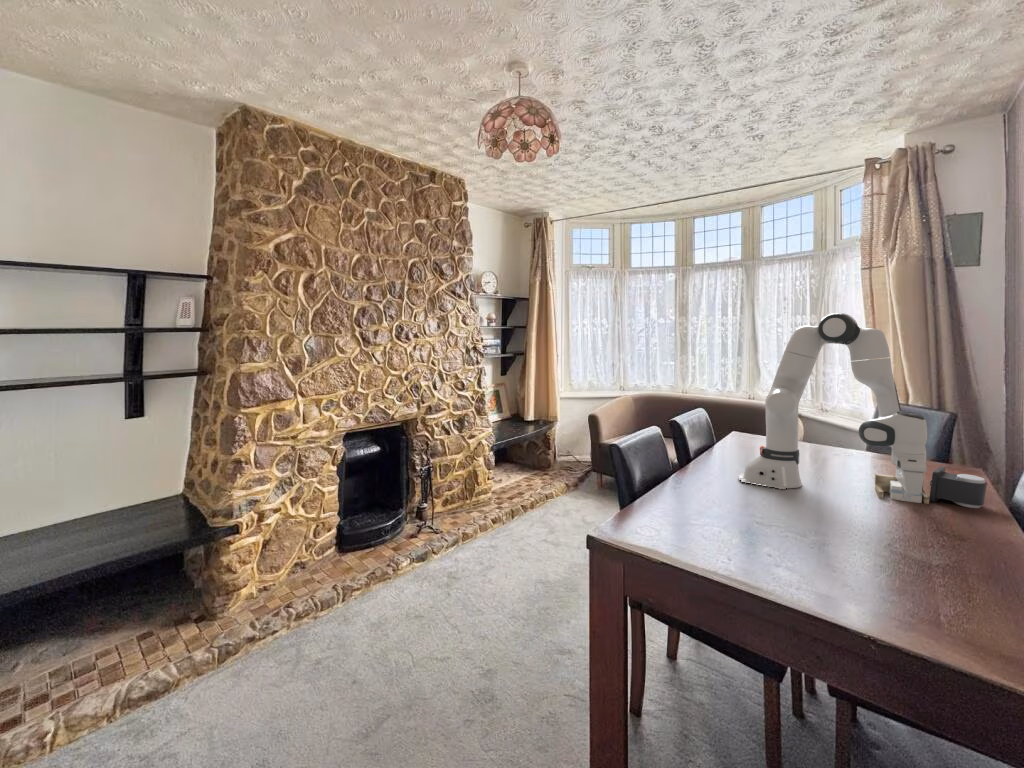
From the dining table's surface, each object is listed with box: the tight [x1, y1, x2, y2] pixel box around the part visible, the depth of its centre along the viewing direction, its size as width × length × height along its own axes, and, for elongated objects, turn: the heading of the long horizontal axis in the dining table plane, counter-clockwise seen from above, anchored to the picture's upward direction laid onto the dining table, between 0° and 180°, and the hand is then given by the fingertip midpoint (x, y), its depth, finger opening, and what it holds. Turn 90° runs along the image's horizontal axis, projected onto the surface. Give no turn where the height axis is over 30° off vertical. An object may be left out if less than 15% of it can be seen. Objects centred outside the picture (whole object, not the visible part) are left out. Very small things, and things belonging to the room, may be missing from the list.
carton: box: [888, 480, 923, 504], centre depth 160 cm, size 8×8×5 cm
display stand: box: [874, 473, 930, 505], centre depth 162 cm, size 13×10×6 cm
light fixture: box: [929, 466, 988, 509], centre depth 154 cm, size 11×13×11 cm
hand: (906, 499), depth 153 cm, fingers closed
